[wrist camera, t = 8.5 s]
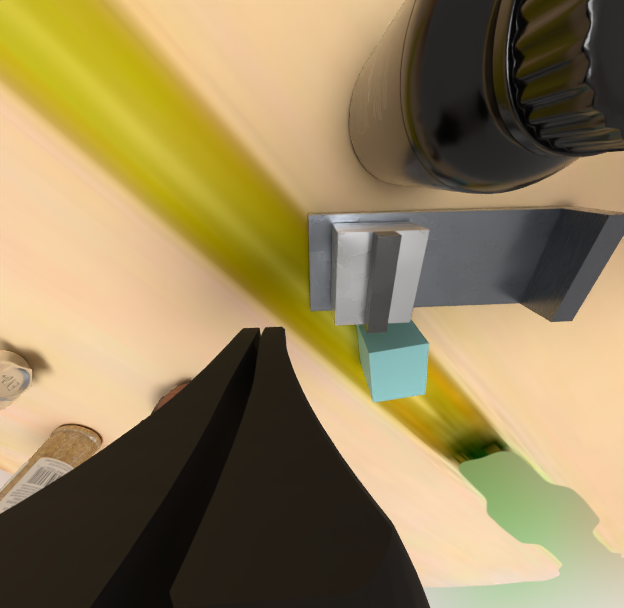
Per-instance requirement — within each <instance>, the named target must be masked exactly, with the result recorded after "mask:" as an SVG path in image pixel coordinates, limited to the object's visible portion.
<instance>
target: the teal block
mask: <svg viewBox="0 0 624 608" xmlns="http://www.w3.org/2000/svg"><path fill="white" fill-rule="evenodd" d="M356 327H357V336H358V345H359V353H360V362H361V366H362V369H363V372H364V375H365V378H366V381H367V385H368V388H369V391H370V394H371V397H372V400H373V402H379V401H386V400H392V399H398V398H404V397H411V396H417V395H423V394H425V392H426V377H427V363H428V348H429V343H428V341H427V340H426V339H425V337H424V336H423V335H422V333H421V332H420V331H419V329H418V328H417V327H416V325H415V324H414V323H413V321H412V320H410V322H407V323H388V325H387V332H383V333H367V331H366V329H365V326H364V324H358V325H356Z"/></svg>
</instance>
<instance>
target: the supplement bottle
mask: <svg viewBox="0 0 624 608" xmlns="http://www.w3.org/2000/svg"><path fill="white" fill-rule="evenodd" d="M349 126H350V135H351V140H352V144H353V147H354V150H355V153H356V155H357V157H358V159H359V160H360V162H361V163H362V165H363V166H364V167H365V169H366V170H367V171H368V172H369V173H371V174H372V175H373V176H374V177H376V178H378V179H380V180H382V181H384V182H387V183H390V184H396V185H402V186H411V187H420V188H428V189H437V190H446V191H455V192H463V193H475V194H494V193H503V192H509V191H513V190H517V189H520V188H524V187H526V186H529V185H532V184H534V183H537V182H539V181H541V180H543V179H545V178H547V177H549V176H551V175H553V174H555V173H557V172H558V171H560V170H562V169H564V168H565V167H567V166H568V165H570V164H571V163H573V162H574V161H576V160H577V159H579V158H580V157H586V156H593V155H598V154H602V153H605V152H614V151H624V0H405V2H404V3H403V5H402V7H401V8H400V10H399V11H398V13H397V14H396V16H395V18H394V19H393V21H392V22H391V24H390V25H389V27H388V29H387V30H386V32H385V33H384V35H383V36H382V38H381V40H380V41H379V43H378V44H377V46H376V47H375V49H374V51H373V52H372V54H371V56H370V57H369V59H368V61H367V62H366V64H365V66H364V67H363V69H362V71H361V73H360V75H359V78H358V80H357V83H356V85H355V89H354V92H353V96H352V100H351V105H350V114H349Z"/></svg>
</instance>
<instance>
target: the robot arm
mask: <svg viewBox="0 0 624 608" xmlns="http://www.w3.org/2000/svg"><path fill="white" fill-rule="evenodd" d="M0 608H430V606H429V603H428V600H427V598H426V595H425V592H424V590H423V587H422V584H421V582H420V580H419V577H418V575H417V572H416V570H415V568H414V566H413V564H412V561H411V559H410V557H409V555H408V553H407V551H406V549H405V547H404V545H403V543H402V541H401V539H400V537H399V535H398V533H397V531H396V529H395V527H394V525H393V523H392V522H391V520H390V519H389V518H388V517H387V515H386V514H385V513H384V512H383V510H382V509H381V508H380V506H379V505H378V504H377V503H376V501H375V500H374V499H373V498H372V496H371V495H370V494H369V492H368V491H367V490H366V488H365V487H364V486H363V485H362V483H361V482H360V481H359V479H358V478H357V477H356V475H355V474H354V472H353V471H352V470H351V468H350V467H349V465H348V464H347V463H346V461H345V460H344V458H343V457H342V456H341V454H340V453H339V451H338V450H337V448H336V447H335V445H334V443H333V442H332V440H331V439H330V437H329V436H328V434H327V433H326V431H325V430H324V428H323V427H322V425H321V423H320V422H319V420H318V418H317V416H316V415H315V413H314V411H313V410H312V408H311V406H310V404H309V402H308V400H307V398H306V396H305V394H304V392H303V390H302V388H301V386H300V384H299V382H298V379H297V377H296V375H295V372H294V370H293V367H292V364H291V361H290V358H289V355H288V352H287V348H286V336H285V329H284V328H283V327H265V329H264V331H263V333H262V335H261V334H260V328H243V329H242V330H241V331H240V332H239V333H238V334H237V335H236V336H235V337H234V338H233V339H232V341H231V342H230V343H229V344H228V345H227V346H226V347H225V348H224V349H223V350H222V351H221V352H220V353H219V354H218V355H217V356H216V357H215V358H214V359H213V360H212V362H211V363H210V364H209V365H208V366H207V367H206V368H205V369H204V370H202V371H201V372H200V373H199V374H198V375H197V376H196V377H195V378H194V379H193V380H192V381H191V382H190V383H189V384H187V385H186V386H185V387H184V388H183V389H182V390H181V391H180V392H178V393H177V394H176V395H175V396H174V397H173V398H171V399H170V400H169V401H168V402H166V403H165V404H164V405H163V406H161V407H160V408H159V409H158V410H156V411H155V412H154V413H153V414H151V415H150V416H149V417H147V418H146V419H145V420H143V421H142V422H141V423H139V424H138V425H136V426H135V427H134V428H132V429H131V430H129V431H128V432H127V433H125V434H124V435H122V436H121V437H120V438H118V439H117V440H115V441H114V442H113V443H111V444H110V445H109V446H107V447H106V448H104V449H103V450H101V451H100V452H98V453H97V454H95V455H94V456H92V457H91V458H89V459H88V460H86V461H85V462H83V463H82V464H80V465H79V466H77V467H76V468H74V469H72V470H71V471H69V472H68V473H66V474H65V475H63V476H61V477H60V478H58V479H57V480H55V481H53V482H52V483H50V484H49V485H47V486H46V487H44V488H42V489H41V490H39V491H37V492H36V493H34V494H33V495H31V496H29V497H28V498H26V499H24V500H23V501H21V502H19V503H18V504H16V505H14V506H12V507H11V508H9V509H7V510H6V511H4V512H2V513H0Z"/></svg>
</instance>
